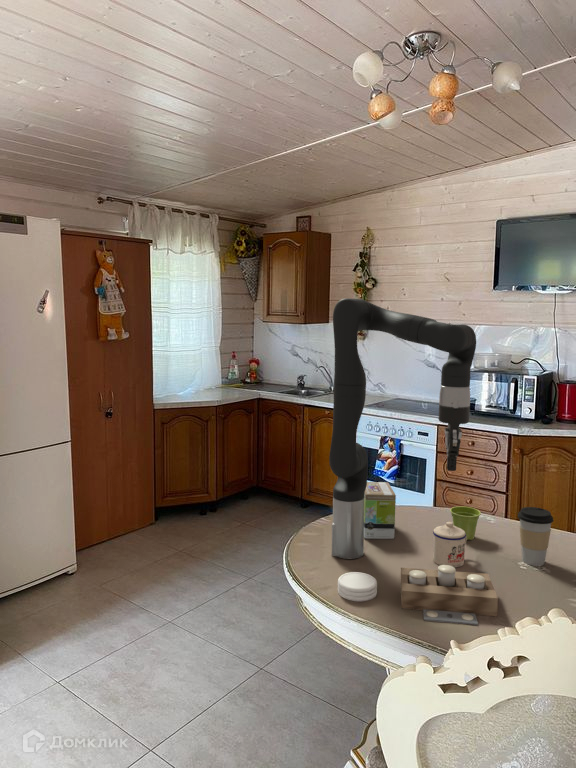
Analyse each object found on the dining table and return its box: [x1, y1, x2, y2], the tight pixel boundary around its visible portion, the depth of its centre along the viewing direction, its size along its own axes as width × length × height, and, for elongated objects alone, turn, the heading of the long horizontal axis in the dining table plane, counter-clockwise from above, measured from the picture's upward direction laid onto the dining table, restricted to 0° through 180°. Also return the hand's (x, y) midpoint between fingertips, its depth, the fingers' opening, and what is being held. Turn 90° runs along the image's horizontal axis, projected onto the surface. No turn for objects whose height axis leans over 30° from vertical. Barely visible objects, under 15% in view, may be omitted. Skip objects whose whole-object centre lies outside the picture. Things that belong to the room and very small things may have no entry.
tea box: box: [364, 481, 397, 540], centre depth 186 cm, size 15×10×15 cm
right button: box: [467, 574, 485, 589], centre depth 139 cm, size 4×4×4 cm
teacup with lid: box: [432, 521, 468, 569], centre depth 163 cm, size 12×9×12 cm
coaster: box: [337, 571, 378, 602], centre depth 144 cm, size 10×10×4 cm
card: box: [422, 609, 479, 626], centre depth 132 cm, size 12×4×1 cm, turn 80°
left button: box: [409, 570, 426, 585], centre depth 141 cm, size 4×4×4 cm
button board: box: [399, 567, 499, 617], centre depth 140 cm, size 22×13×4 cm, turn 80°
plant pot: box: [449, 505, 482, 541], centre depth 180 cm, size 9×9×9 cm
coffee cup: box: [517, 506, 554, 567], centre depth 161 cm, size 9×9×15 cm
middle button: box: [437, 565, 457, 587], centre depth 140 cm, size 4×4×4 cm
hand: (451, 470), depth 145 cm, fingers closed
